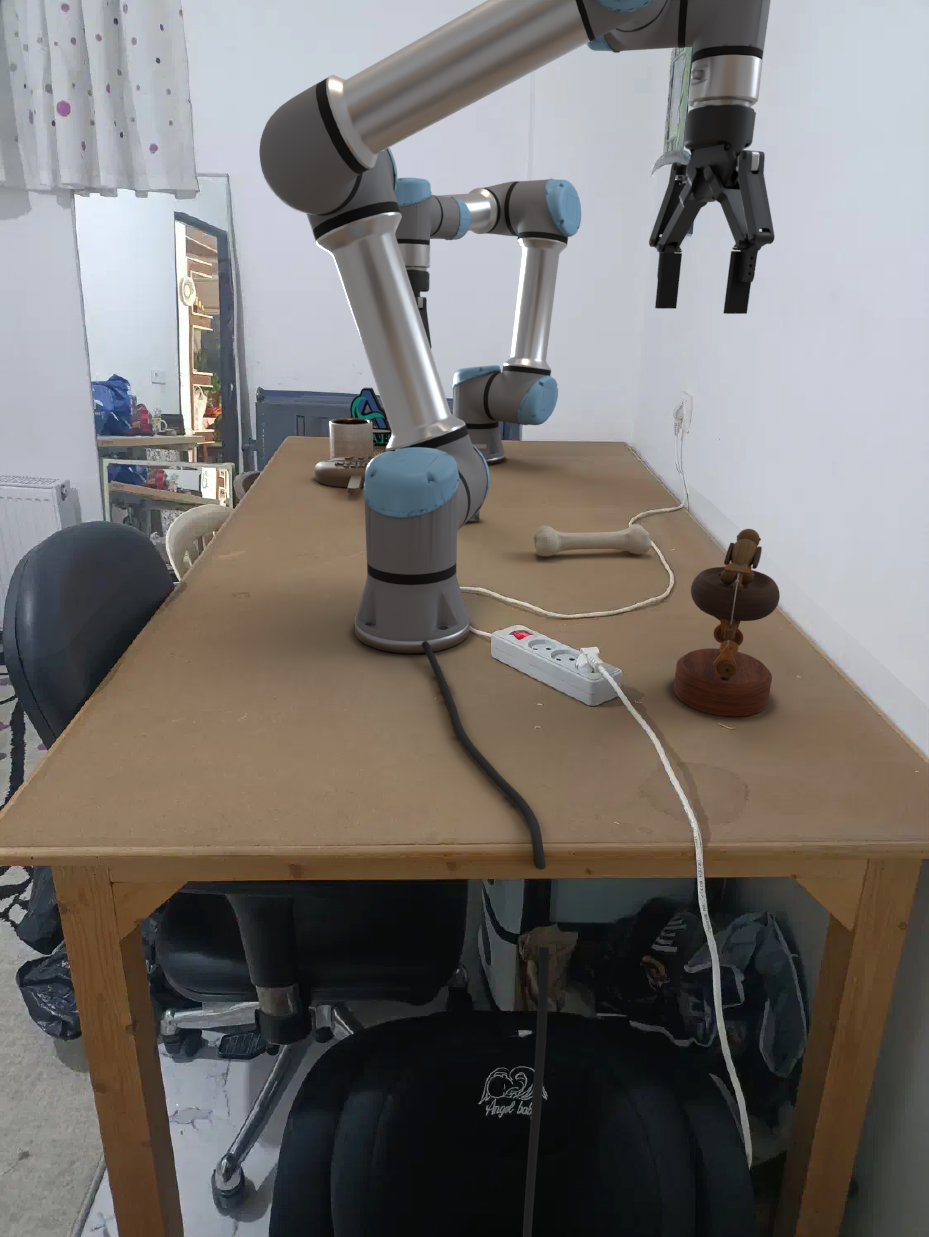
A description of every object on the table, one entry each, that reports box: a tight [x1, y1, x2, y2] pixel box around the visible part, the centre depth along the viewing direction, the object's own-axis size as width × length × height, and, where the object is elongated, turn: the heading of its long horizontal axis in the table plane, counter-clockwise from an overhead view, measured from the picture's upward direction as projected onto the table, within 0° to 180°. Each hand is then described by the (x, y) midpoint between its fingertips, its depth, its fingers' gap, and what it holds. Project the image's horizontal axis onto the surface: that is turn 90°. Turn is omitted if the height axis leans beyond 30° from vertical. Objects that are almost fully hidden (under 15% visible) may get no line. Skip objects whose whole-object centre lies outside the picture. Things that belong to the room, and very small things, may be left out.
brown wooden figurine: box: [673, 528, 781, 717], centre depth 94 cm, size 15×11×20 cm
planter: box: [328, 417, 375, 460], centre depth 212 cm, size 11×11×10 cm
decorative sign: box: [349, 387, 392, 446], centre depth 231 cm, size 19×2×15 cm, turn 86°
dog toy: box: [533, 523, 652, 557], centre depth 144 cm, size 20×6×5 cm, turn 99°
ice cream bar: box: [313, 456, 375, 495], centre depth 188 cm, size 21×28×4 cm
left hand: (698, 311), depth 102 cm, fingers open, 13 cm apart
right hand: (409, 384), depth 169 cm, fingers open, 13 cm apart
